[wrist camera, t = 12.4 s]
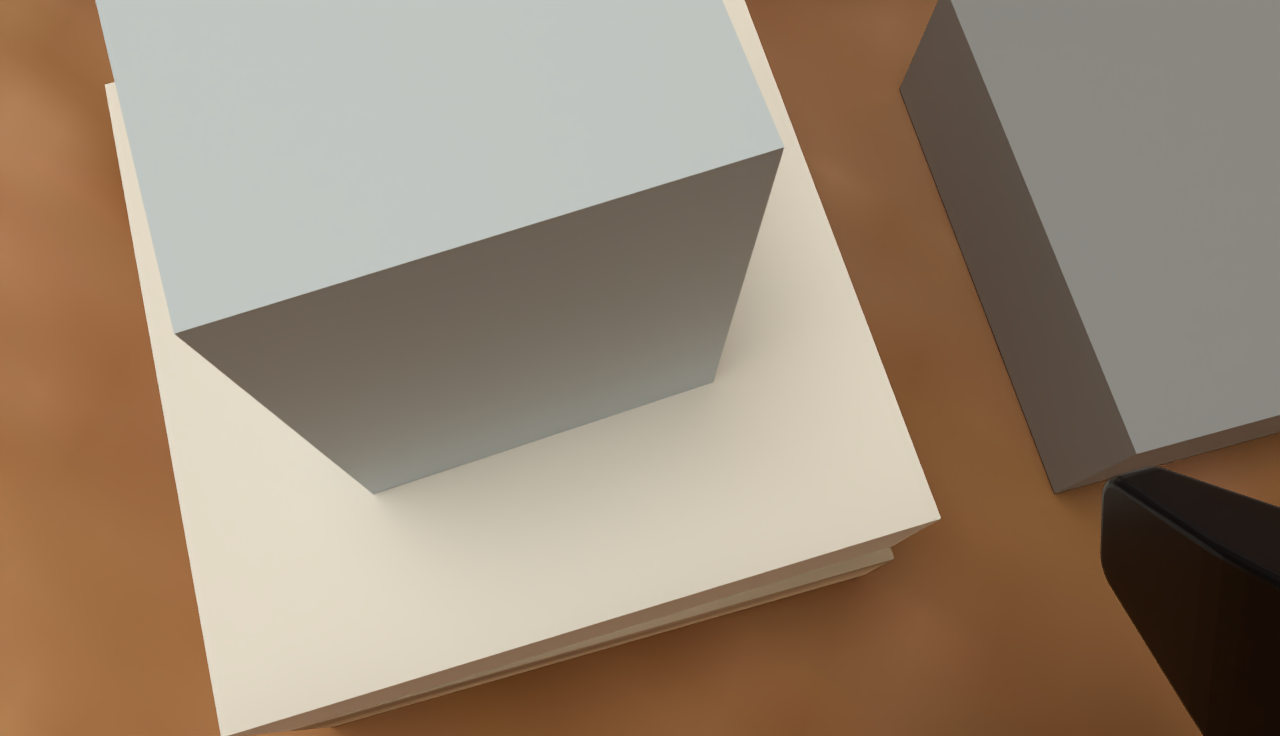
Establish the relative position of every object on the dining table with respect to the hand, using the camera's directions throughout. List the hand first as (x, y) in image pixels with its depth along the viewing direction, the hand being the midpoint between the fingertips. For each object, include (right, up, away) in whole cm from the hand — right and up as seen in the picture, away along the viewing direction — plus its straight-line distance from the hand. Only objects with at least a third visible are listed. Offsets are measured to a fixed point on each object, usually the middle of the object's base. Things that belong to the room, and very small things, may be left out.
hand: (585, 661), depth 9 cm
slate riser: (+11, +5, +14) cm, 18 cm away
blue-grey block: (-2, +4, +7) cm, 8 cm away
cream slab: (-2, +3, +10) cm, 11 cm away
